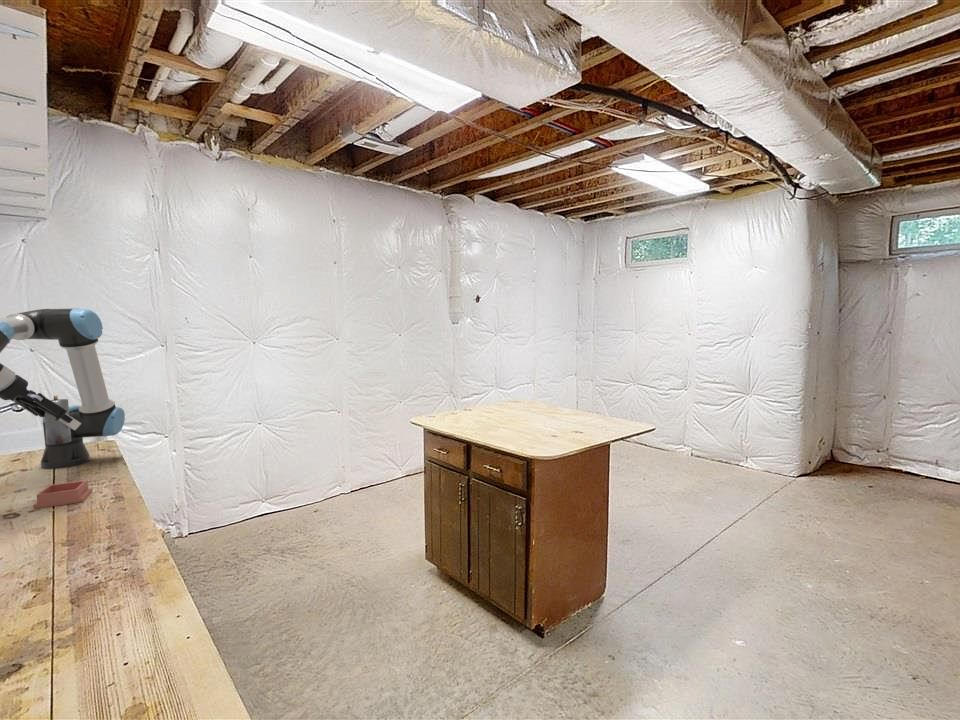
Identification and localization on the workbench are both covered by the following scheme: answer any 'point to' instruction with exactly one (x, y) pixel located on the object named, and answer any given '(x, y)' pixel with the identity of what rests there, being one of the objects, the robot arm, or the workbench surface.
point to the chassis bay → (63, 494)
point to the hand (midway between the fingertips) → (71, 426)
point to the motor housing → (57, 425)
